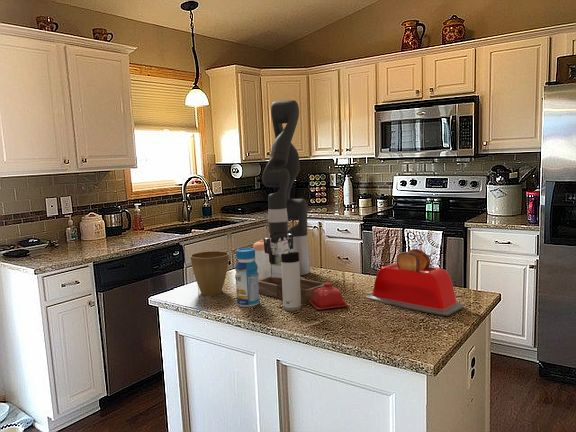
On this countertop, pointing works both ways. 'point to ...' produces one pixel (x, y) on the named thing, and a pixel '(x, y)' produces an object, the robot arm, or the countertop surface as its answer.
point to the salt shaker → (262, 260)
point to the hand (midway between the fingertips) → (279, 262)
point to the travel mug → (291, 281)
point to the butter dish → (327, 298)
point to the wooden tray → (275, 288)
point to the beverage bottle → (246, 278)
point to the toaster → (415, 285)
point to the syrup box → (278, 258)
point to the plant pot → (210, 271)
